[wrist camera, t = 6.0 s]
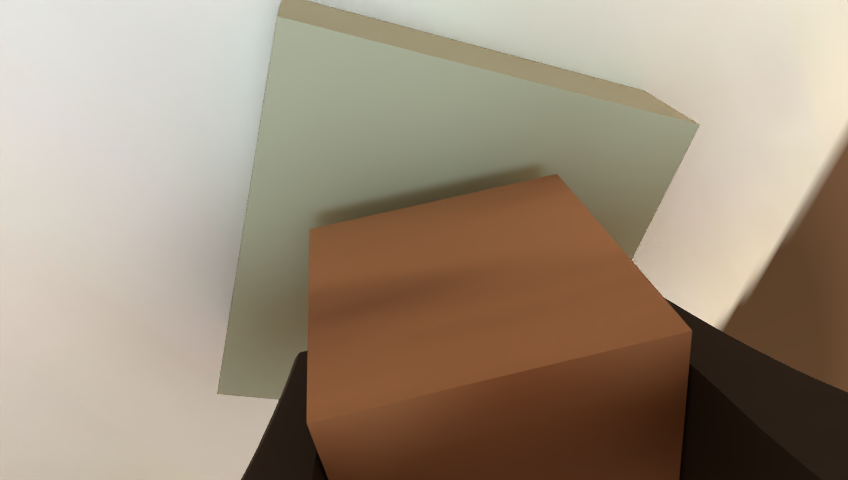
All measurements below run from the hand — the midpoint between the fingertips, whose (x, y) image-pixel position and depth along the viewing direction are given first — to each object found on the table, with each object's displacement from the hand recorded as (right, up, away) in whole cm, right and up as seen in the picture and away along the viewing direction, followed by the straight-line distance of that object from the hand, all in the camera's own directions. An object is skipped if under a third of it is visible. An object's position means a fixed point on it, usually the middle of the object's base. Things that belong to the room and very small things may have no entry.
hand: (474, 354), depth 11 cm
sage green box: (-1, +3, +5) cm, 6 cm away
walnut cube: (0, +1, +2) cm, 2 cm away
